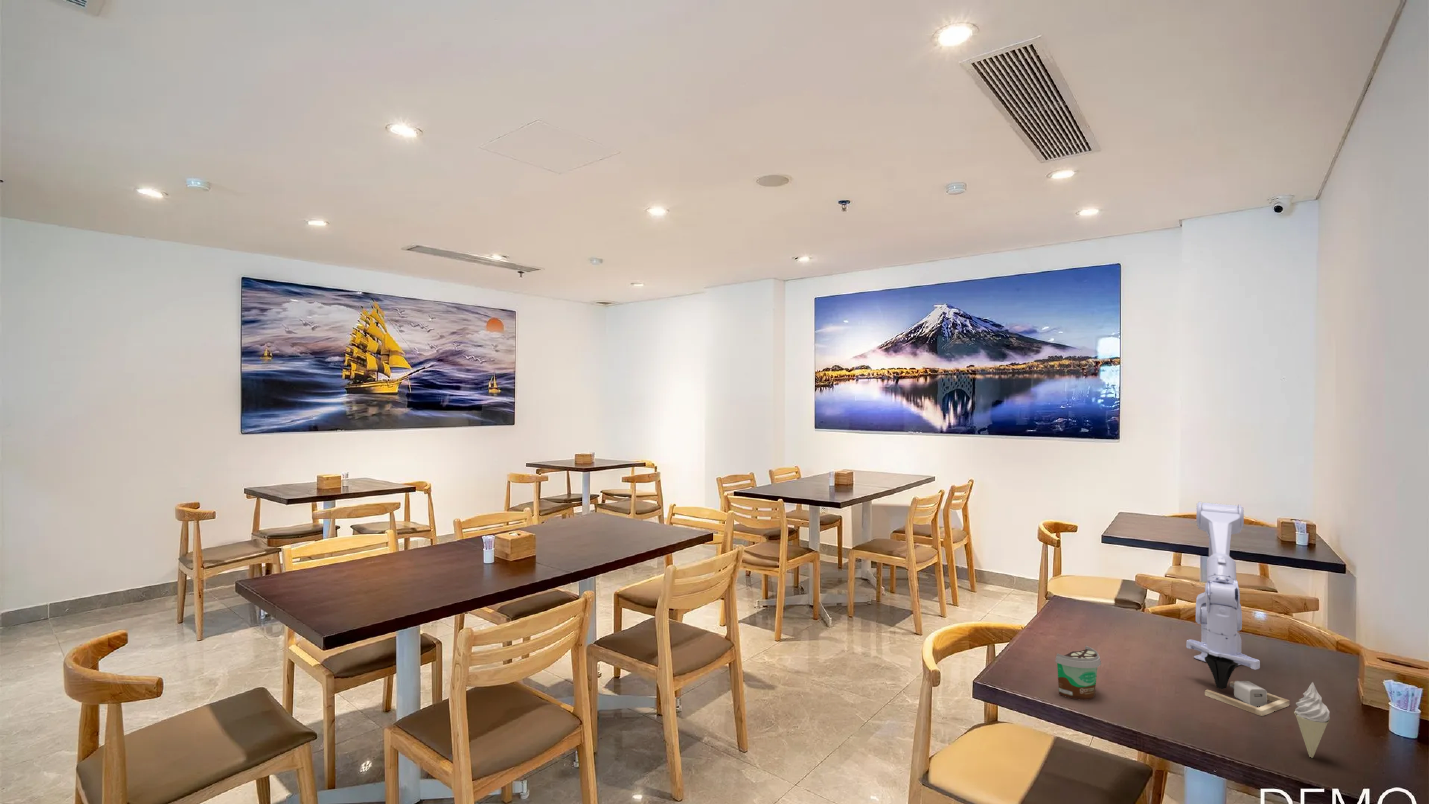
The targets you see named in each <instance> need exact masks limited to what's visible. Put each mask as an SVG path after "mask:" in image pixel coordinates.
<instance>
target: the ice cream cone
mask: <svg viewBox="0 0 1429 804" xmlns="http://www.w3.org/2000/svg"><path fill="white" fill-rule="evenodd" d="M1302 695H1303V697H1302V698H1299V699H1298V701H1297V702H1295V705H1296V706H1297V707H1296V708H1295V709H1294V710H1295V711H1294V712H1293V713H1294V715H1295V717H1296V720H1297V723H1298V727H1299V730H1300V733H1301V735H1302V738H1303V741H1304V742H1303V743H1305V744H1304V745H1305V747H1306V750H1307V753H1308V756H1309V758H1310V757H1311V759H1313V758H1314V756H1315V754H1316V751H1317V749H1318V748H1319V744H1320V742H1321V739H1322V738H1323V735H1324V732H1325V730H1326V727H1327V725H1328V724H1329V722H1330V719H1331V717H1330V712H1331V711H1330V710H1329V709H1328V706H1327V705H1326V704H1324V703H1323V701H1322V698H1323V697H1322V696H1321V695H1320V694H1319V692H1318V690H1317V688H1316V686H1315V684H1314V682H1313V681H1312V682H1311V683H1310V685H1309V687H1308V688H1307V689H1306V690H1305V692H1303V693H1302Z"/></svg>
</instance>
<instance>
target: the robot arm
mask: <svg viewBox="0 0 1429 804" xmlns="http://www.w3.org/2000/svg"><path fill="white" fill-rule="evenodd" d="M1244 512H1245V511H1244V507H1243V506H1242V505H1241V504H1238V505H1237V504H1227V503H1226V504H1225V503H1213V502H1202V501H1198V502H1197V503H1196V526H1197V528H1198V530H1201V531H1203V532H1205V533H1206V535H1207V537H1208V557H1207V559H1206V582H1205V584H1204V592H1201V593H1199V594H1197V596H1196V601H1195V623H1197V624H1198V625H1200V628H1201V629H1200V630H1201V633H1200V635H1201V639H1200V641H1199V640H1195V639H1187V640H1186V643H1185V644H1186V649H1188V650H1194V651H1198V652H1201V653H1200V654H1197V655H1193V658H1194V659H1196V660H1199V661H1202V662H1205V663H1206V664H1207V666H1208V668H1209V670H1210V672H1211V674H1212V677H1213V681H1214V683H1215V687H1216V688H1217V689H1220V690H1225V689H1227V687H1228V685H1229V684H1228V683H1229V681H1230V679H1231V676H1232V674H1233V672H1234V671H1235V669H1236V668H1237V667H1238V666H1240V665H1243V666H1245V667H1248V668H1250V669H1252V670H1259V669H1260V668H1261V661H1260V660H1259V659H1257V658H1253V657H1251V656H1248V655H1247V654H1244V653H1242V637H1241V635H1240V633H1239V632H1240V631H1242V628H1243V627H1242V626H1243V612H1242V611H1243V610H1242V605H1241V603H1240V602H1241V595H1240V592H1241V591H1240V587H1239V582H1238V580H1237V562H1236V560H1235V559H1234V558H1232V557H1231V556H1230V553H1231V552H1230V551H1231V538H1232V535H1236V534H1241V532H1242V530H1243V528H1244V526H1245V525H1244V521H1245V518H1244V517H1245V514H1244Z"/></svg>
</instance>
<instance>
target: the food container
mask: <svg viewBox="0 0 1429 804" xmlns="http://www.w3.org/2000/svg"><path fill="white" fill-rule="evenodd" d="M1101 661H1102V660H1101V657H1100V654H1099V652H1098V651H1097V650H1095V648H1092V647H1090V646H1088V645H1085V648H1084V649H1083V650H1078V651H1076V650H1075V651H1071V652H1068V653H1066V654H1061V653H1056V656H1055V663H1056V664H1057V665H1056V666H1057V667H1056V668H1057V681H1058V682H1057V683H1058V695H1059V694H1060V696H1062V697H1065V696H1066V697H1065V698H1068V697H1069V698H1068V699H1073V700H1078V699H1080V700H1079V701H1089V700H1092V699H1095V697H1096V695H1095V694H1096V688H1097V687H1096V686H1097V675H1098V668H1099V667H1101V664H1102V662H1101Z"/></svg>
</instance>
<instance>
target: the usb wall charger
mask: <svg viewBox="0 0 1429 804" xmlns="http://www.w3.org/2000/svg"><path fill="white" fill-rule="evenodd" d="M1234 682H1235V683H1234V685H1232V684H1231V686H1230V682H1228V683H1229V684H1228V686H1229V687H1230V688H1232V689H1233V694H1234V695H1233V696H1234V698H1236V699H1237V700H1239V701H1241V702H1244V703H1247V704H1249V705H1252V706H1255V707H1257V706H1258V708H1259V706H1260V707H1261V706H1264V705H1267V704H1268V700H1267V693H1268V691H1267V690H1266V689H1264V688H1263V687H1261V686H1259V685H1258V684H1255V683H1253V682H1251V681H1249V680H1235V681H1234Z"/></svg>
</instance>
